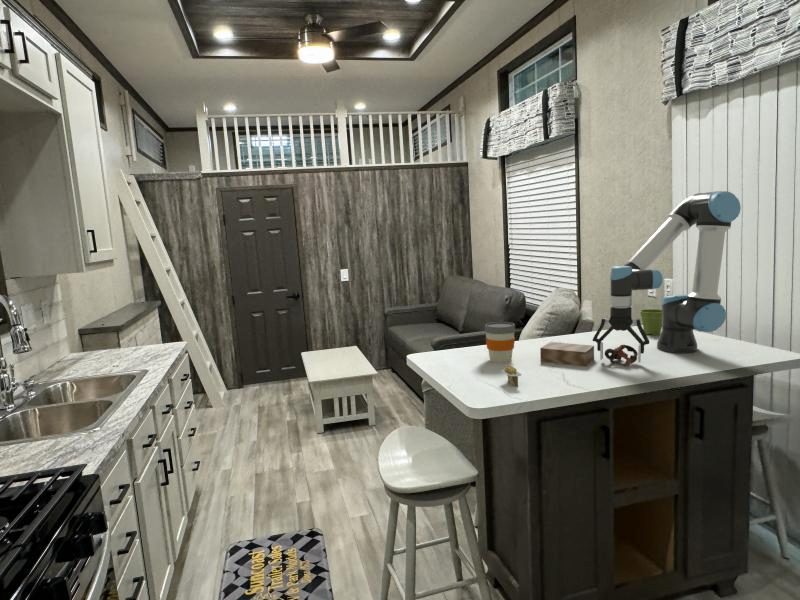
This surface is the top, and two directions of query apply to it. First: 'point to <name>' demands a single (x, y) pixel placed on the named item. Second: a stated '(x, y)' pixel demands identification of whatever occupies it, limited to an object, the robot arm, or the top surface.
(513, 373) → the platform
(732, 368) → the top surface
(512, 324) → the reusable coffee cup
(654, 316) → the plant pot
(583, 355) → the walnut box
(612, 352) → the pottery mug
